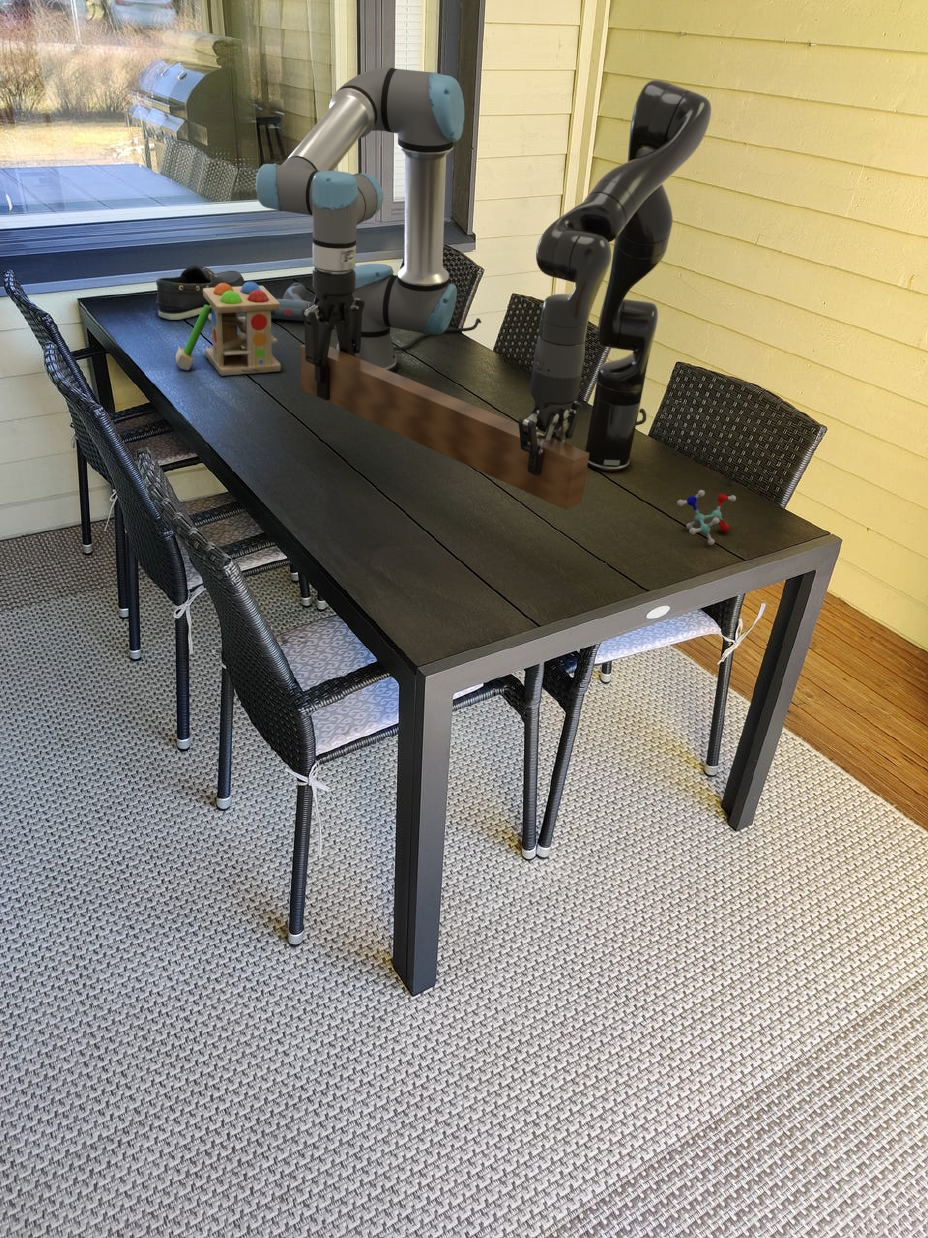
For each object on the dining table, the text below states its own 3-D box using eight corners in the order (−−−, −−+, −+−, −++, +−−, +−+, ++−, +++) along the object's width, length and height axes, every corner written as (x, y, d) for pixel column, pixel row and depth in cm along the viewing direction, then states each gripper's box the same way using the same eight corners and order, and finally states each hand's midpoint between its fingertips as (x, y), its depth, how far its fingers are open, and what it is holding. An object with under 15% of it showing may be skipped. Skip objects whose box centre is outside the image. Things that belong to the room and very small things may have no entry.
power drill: (344, 304, 276) (335, 327, 259) (277, 298, 275) (264, 321, 258) (344, 285, 273) (335, 306, 256) (277, 279, 272) (264, 300, 255)
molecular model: (741, 539, 172) (725, 484, 171) (688, 553, 176) (672, 500, 174) (745, 528, 183) (730, 477, 181) (695, 542, 186) (680, 492, 185)
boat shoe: (264, 299, 275) (261, 260, 270) (175, 322, 251) (171, 280, 246) (230, 290, 281) (227, 253, 275) (140, 312, 257) (136, 271, 251)
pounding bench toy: (183, 379, 220) (176, 299, 210) (169, 357, 231) (162, 280, 221) (282, 371, 230) (280, 294, 220) (264, 350, 240) (262, 276, 230)
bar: (300, 389, 188) (300, 345, 183) (317, 384, 191) (317, 341, 186) (566, 510, 156) (573, 460, 151) (581, 502, 158) (589, 452, 153)
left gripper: (311, 281, 165) (312, 411, 178) (384, 266, 176) (379, 390, 189) (282, 270, 169) (284, 399, 182) (354, 256, 180) (352, 378, 193)
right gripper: (549, 385, 142) (534, 490, 152) (604, 364, 151) (587, 465, 161) (509, 369, 146) (497, 473, 156) (565, 350, 155) (550, 449, 165)
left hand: (333, 394), depth 186 cm, fingers closed on bar, 4 cm apart
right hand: (543, 468), depth 158 cm, fingers closed on bar, 4 cm apart
